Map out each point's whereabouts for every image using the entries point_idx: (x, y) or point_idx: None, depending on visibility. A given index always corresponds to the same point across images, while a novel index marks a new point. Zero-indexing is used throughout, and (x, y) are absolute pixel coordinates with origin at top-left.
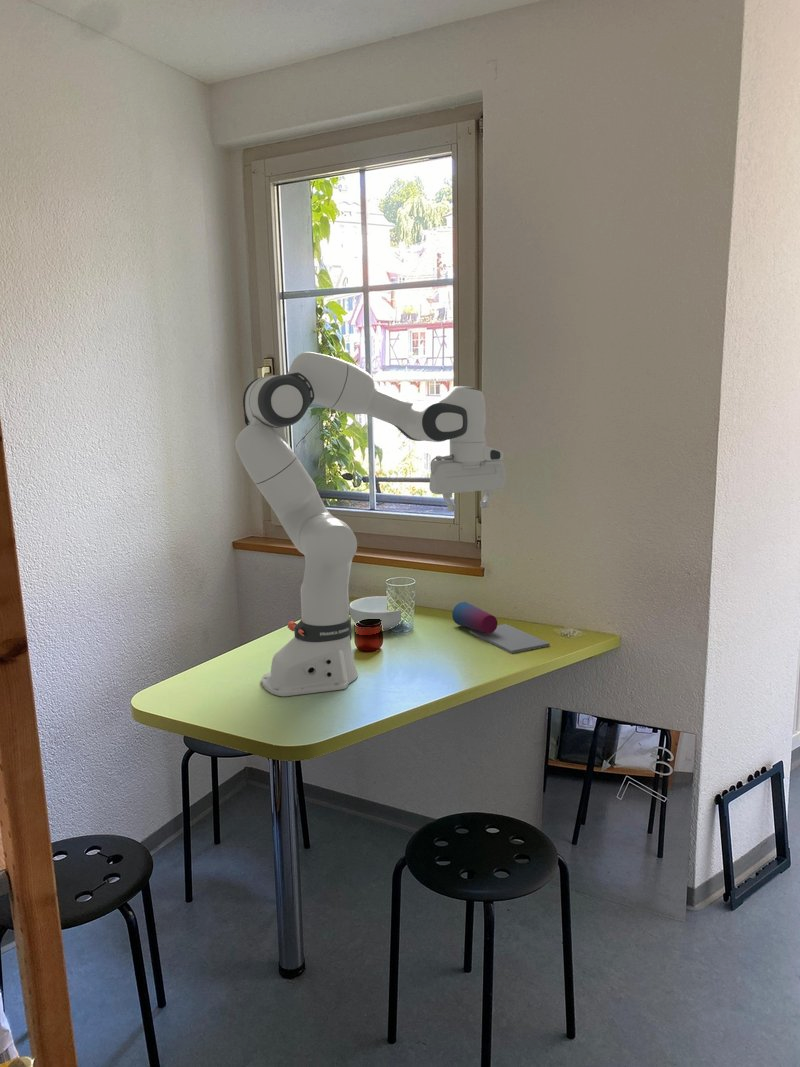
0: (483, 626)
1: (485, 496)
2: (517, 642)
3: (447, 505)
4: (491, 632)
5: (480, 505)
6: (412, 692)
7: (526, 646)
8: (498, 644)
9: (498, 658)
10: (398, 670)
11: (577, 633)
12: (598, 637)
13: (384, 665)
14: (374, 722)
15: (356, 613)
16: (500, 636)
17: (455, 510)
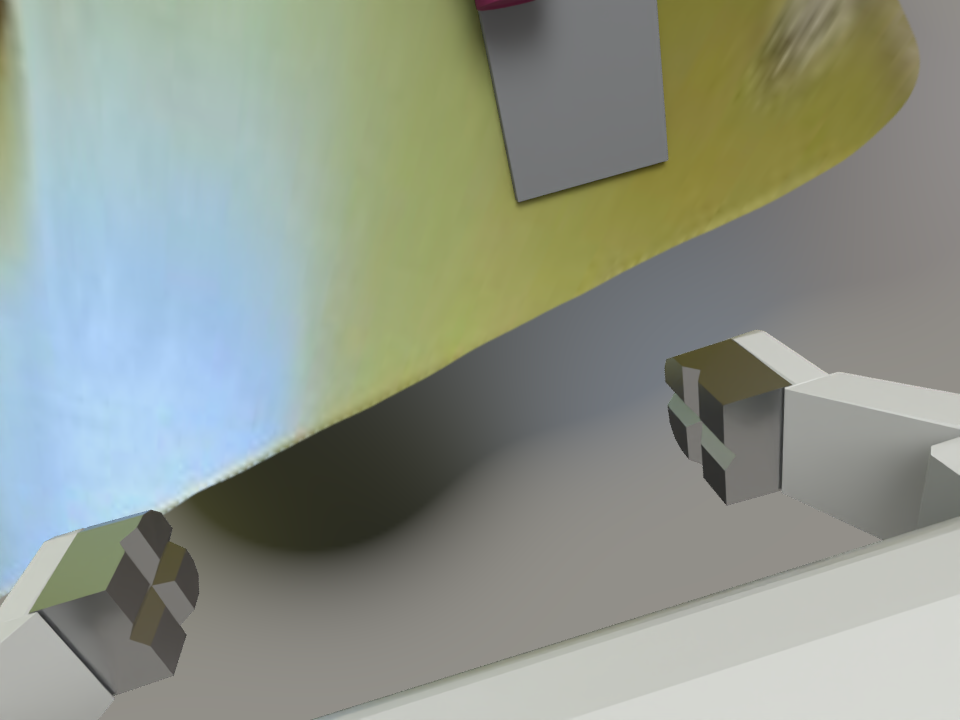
0: (486, 6)
1: (879, 449)
2: (574, 118)
3: (9, 605)
4: (517, 4)
5: (679, 383)
6: (147, 434)
7: (582, 172)
8: (502, 121)
9: (460, 231)
10: (99, 263)
11: (825, 44)
12: (851, 114)
13: (41, 201)
14: None
15: None
16: (546, 20)
17: (192, 586)
